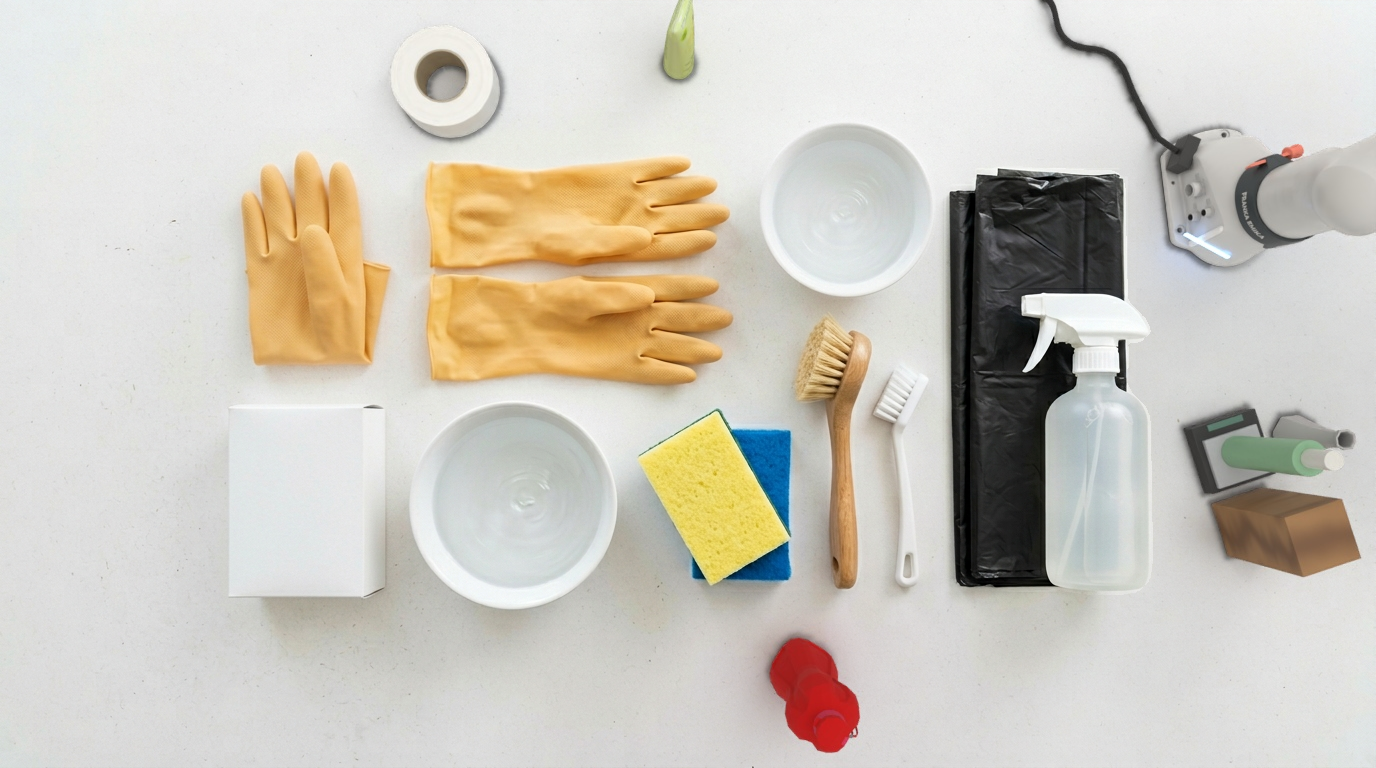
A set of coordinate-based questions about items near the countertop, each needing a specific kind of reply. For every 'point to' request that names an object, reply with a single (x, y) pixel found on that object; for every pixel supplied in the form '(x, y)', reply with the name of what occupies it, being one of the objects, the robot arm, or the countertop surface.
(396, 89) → the tape roll
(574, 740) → the countertop surface
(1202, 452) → the scale
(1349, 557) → the brown wooden block
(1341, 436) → the flask
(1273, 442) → the green bottle
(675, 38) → the tube
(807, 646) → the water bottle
